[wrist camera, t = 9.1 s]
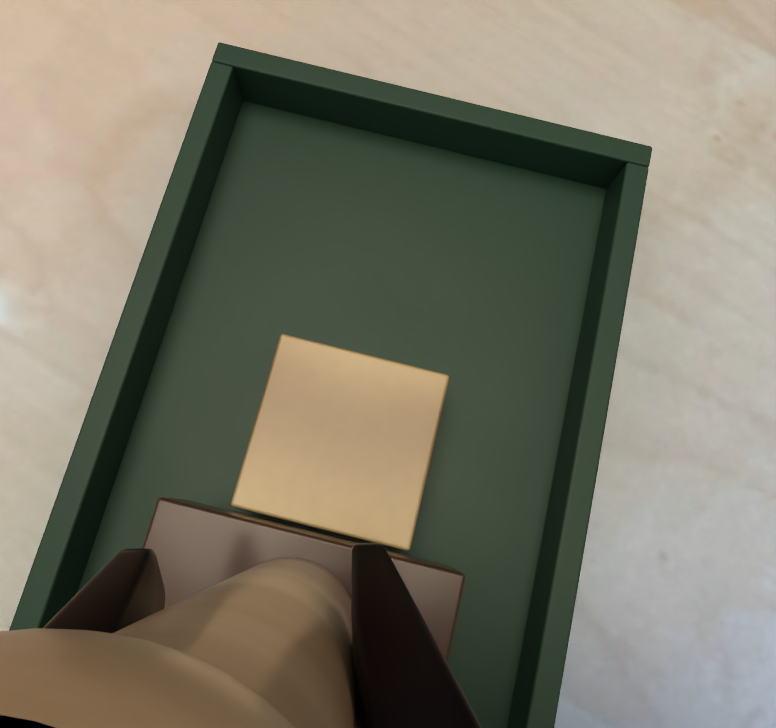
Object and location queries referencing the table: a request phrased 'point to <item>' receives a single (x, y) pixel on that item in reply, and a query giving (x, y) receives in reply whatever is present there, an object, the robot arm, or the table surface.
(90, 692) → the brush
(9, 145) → the table surface
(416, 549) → the tray
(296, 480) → the golden tan square block
